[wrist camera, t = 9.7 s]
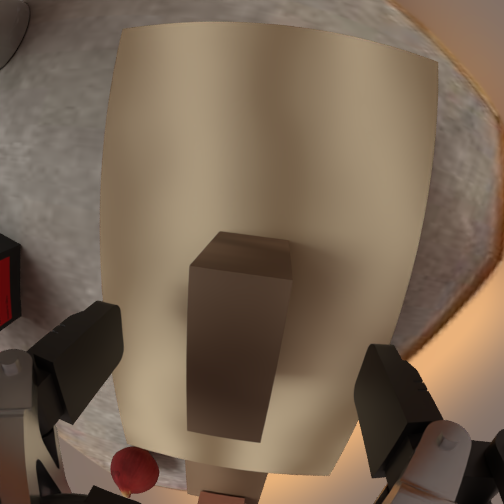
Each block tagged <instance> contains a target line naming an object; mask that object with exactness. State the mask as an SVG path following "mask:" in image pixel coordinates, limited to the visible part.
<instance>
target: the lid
mask: <svg viewBox="0 0 504 504" xmlns="http://www.w3.org/2000/svg"><path fill="white" fill-rule="evenodd" d="M437 104H438V62H437V61H434V60H431V59H428V58H426V57H423V56H420V55H417V54H414V53H411V52H408V51H405V50H402V49H398V48H395V47H392V46H388V45H385V44H381V43H377V42H373V41H369V40H365V39H361V38H357V37H352V36H348V35H343V34H338V33H333V32H327V31H321V30H315V29H309V28H302V27H294V26H285V25H275V24H263V23H247V22H187V23H170V24H159V25H149V26H140V27H133V28H126V29H123V30H122V34H121V38H120V43H119V47H118V52H117V57H116V62H115V67H114V72H113V78H112V83H111V89H110V96H109V103H108V110H107V117H106V126H105V135H104V145H103V157H102V171H101V192H100V259H101V280H102V295H103V302H107V303H111V304H115V305H118V306H119V307H120V310H121V319H122V331H123V341H124V352H123V356H122V359H121V361H120V363H119V364H118V366H117V367H116V368H115V369H114V371H113V372H112V376H113V382H114V387H115V392H116V397H117V402H118V407H119V412H120V416H121V421H122V425H123V429H124V433H125V437H126V441H127V444H130V445H133V446H136V447H139V448H143V449H146V450H149V451H153V452H157V453H160V454H164V455H168V456H172V457H176V458H180V459H185V460H189V461H194V462H199V463H204V464H209V465H214V466H220V467H226V468H233V469H240V470H247V471H256V472H265V473H276V474H290V475H313V476H314V475H315V476H316V475H317V476H329V475H330V474H331V472H332V470H333V468H334V467H335V464H336V463H337V461H338V459H339V457H340V456H341V454H342V452H343V450H344V448H345V446H346V444H347V442H348V440H349V438H350V436H351V434H352V432H353V430H354V428H355V426H356V424H357V422H358V420H359V419H358V415H357V411H356V407H355V403H354V386H355V382H356V379H357V377H358V374H359V371H360V368H361V365H362V363H363V360H364V357H365V354H366V351H367V348H368V347H369V345H370V344H387V345H389V344H390V342H391V339H392V336H393V333H394V330H395V327H396V324H397V321H398V318H399V315H400V311H401V308H402V305H403V302H404V298H405V295H406V291H407V288H408V284H409V281H410V277H411V273H412V269H413V265H414V261H415V257H416V253H417V249H418V244H419V240H420V235H421V230H422V225H423V220H424V215H425V210H426V204H427V198H428V192H429V186H430V179H431V172H432V164H433V155H434V146H435V135H436V122H437Z"/></svg>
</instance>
